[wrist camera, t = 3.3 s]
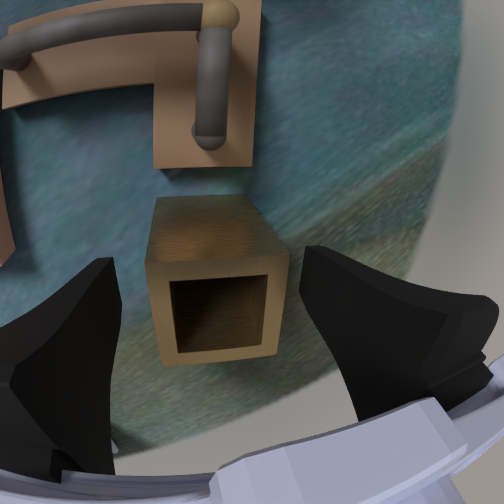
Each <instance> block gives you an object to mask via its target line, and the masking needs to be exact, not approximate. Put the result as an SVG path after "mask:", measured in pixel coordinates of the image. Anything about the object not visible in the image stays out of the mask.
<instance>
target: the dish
mask: <svg viewBox="0 0 504 504" xmlns="http://www.w3.org/2000/svg"><path fill="white" fill-rule="evenodd" d="M15 250H16V248H15V244H14V240H13V236H12V232H11V227H10V223H9V218H8V213H7V208H6V202H5V197H4V190H3V184H2V176H1V168H0V266H2V265H3V264H4V263H5V261H6V260H7V259H8V258H9V257H10V255H11V254H12V253H13V252H14V251H15Z"/></svg>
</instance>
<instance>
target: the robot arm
mask: <svg viewBox="0 0 504 504" xmlns="http://www.w3.org/2000/svg"><path fill="white" fill-rule="evenodd" d="M299 292H300V295H301V298H302V300H303V303H304V305H305V307H306V310H307V312H308V314H309V315H310V317H311V319H312V320H313V322H314V324H315V326H316V327H317V329H318V331H319V332H320V334H321V336H322V337H323V339H324V341H325V342H326V344H327V346H328V347H329V349H330V351H331V352H332V354H333V356H334V358H335V360H336V362H337V365H338V367H339V369H340V371H341V374H342V376H343V378H344V381H345V384H346V386H347V389H348V391H349V394H350V397H351V400H352V402H353V406H354V408H355V412H356V414H357V418H358V421H359V422H357V423H355V424H352V425H348V426H345V427H342V428H339V429H336V430H332V431H329V432H326V433H322V434H319V435H315V436H311V437H307V438H303V439H299V440H295V441H291V442H286V443H282V444H278V445H275V446H272V447H269V448H265V449H261V450H258V451H254V452H251V453H247V454H244V455H243V456H241V457H238V458H236V459H234V460H232V461H230V462H228V463H226V464H224V465H222V466H221V467H220V468H219V469H218V470H217V471H216V472H213V473H204V474H193V475H176V476H118V475H115V469H114V462H113V453H118V448H117V446H116V445H115V443H114V442H113V440H112V439H111V428H110V384H111V375H112V369H113V363H114V358H115V352H116V347H117V342H118V336H119V331H120V326H121V313H122V301H121V296H120V292H119V287H118V282H117V277H116V271H115V266H114V260H113V257H107V258H97V259H95V260H94V261H92V262H91V263H90V264H89V265H87V266H86V267H85V268H84V269H83V270H82V271H80V272H79V273H78V274H77V275H76V276H75V277H73V278H72V279H71V280H70V281H69V282H68V283H66V284H65V285H64V286H63V287H61V288H60V289H59V290H58V291H56V292H55V293H54V294H53V295H52V296H50V297H49V298H48V299H46V300H45V301H44V302H42V303H41V304H39V305H38V306H36V307H35V308H33V309H32V310H30V311H29V312H27V313H26V314H24V315H22V316H20V317H19V318H17V319H15V320H13V321H12V322H10V323H8V324H6V325H5V326H3V327H0V504H466V503H465V501H464V500H463V498H462V496H461V495H460V493H459V491H458V490H457V488H456V486H455V485H454V483H453V482H452V480H451V478H452V477H453V476H455V475H456V474H457V473H459V472H460V471H461V470H463V469H464V468H465V467H467V466H468V465H469V464H470V463H471V462H473V461H474V460H475V459H477V458H478V457H479V456H480V455H482V454H483V453H484V452H485V451H486V450H487V449H489V448H490V447H491V446H492V445H493V444H494V443H495V442H496V441H498V440H499V439H500V438H501V437H502V436H503V435H504V354H503V355H502V356H500V357H499V358H497V359H496V360H495V361H493V362H492V363H491V364H490V365H489V366H488V367H486V366H485V364H484V363H483V361H484V360H485V359H486V356H485V355H484V354H483V352H482V351H481V350H482V349H483V347H484V345H485V344H486V342H487V340H488V338H489V336H490V335H491V333H492V331H493V329H494V327H495V325H496V323H497V320H498V316H499V307H498V305H497V304H496V303H495V302H494V301H492V300H491V299H490V298H489V297H486V296H483V295H470V294H460V293H453V292H447V291H441V290H436V289H432V288H428V287H424V286H420V285H416V284H413V283H410V282H407V281H404V280H401V279H398V278H395V277H392V276H390V275H387V274H384V273H382V272H380V271H377V270H375V269H373V268H370V267H368V266H366V265H364V264H362V263H360V262H357V261H355V260H353V259H351V258H349V257H347V256H345V255H343V254H341V253H338V252H336V251H334V250H332V249H329V248H327V247H324V246H320V245H318V246H306V247H305V253H304V260H303V267H302V273H301V280H300V286H299Z"/></svg>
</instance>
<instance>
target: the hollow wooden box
mask: <svg viewBox="0 0 504 504" xmlns="http://www.w3.org/2000/svg"><path fill="white" fill-rule="evenodd" d="M289 261H290V253H289V252H288V250H287V249H286V248H285V246H284V245H283V244H282V242H281V241H280V240H279V238H278V237H277V236H276V234H275V233H274V232H273V230H272V229H271V228H270V226H269V225H268V224H267V222H266V221H265V220H264V218H263V217H262V216H261V215H260V213H259V212H258V211H257V209H256V208H255V207H254V205H253V204H252V203H251V202H250V200H249V199H248V198H247V196H246V195H245V194H243V195H205V196H181V197H162V198H157V199H156V204H155V209H154V213H153V219H152V224H151V229H150V235H149V240H148V246H147V252H146V258H145V270H146V277H147V284H148V291H149V297H150V304H151V310H152V316H153V321H154V327H155V332H156V337H157V343H158V348H159V352H160V357H161V362H162V366H179V365H192V364H203V363H214V362H223V361H232V360H240V359H248V358H256V357H263V356H270V355H276V354H277V348H278V341H279V334H280V328H281V321H282V314H283V307H284V299H285V292H286V285H287V277H288V269H289Z"/></svg>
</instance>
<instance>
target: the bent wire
mask: <svg viewBox="0 0 504 504" xmlns="http://www.w3.org/2000/svg"><path fill="white" fill-rule="evenodd" d="M261 4H262V0H103V1H97V2H91V3H86V4H82V5H77V6H73V7H68V8H64V9H61V10H57V11H53V12H50V13H46V14H43V15H39V16H36V17H33V18H30V19H27V20H24V21H21V22H19V23H16V24H13V25H11V26H9V30H8V36H5V37H3V38H0V69H3V70H4V72H3V91H2V109H11V108H16V107H19V106H23V105H27V104H31V103H35V102H39V101H43V100H48V99H52V98H57V97H62V96H67V95H73V94H79V93H85V92H91V91H98V90H106V89H114V88H123V87H134V86H146V85H154V103H153V161H154V169H165V168H187V167H252V156H253V139H254V121H255V103H256V86H257V69H258V53H259V36H260V20H261Z"/></svg>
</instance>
